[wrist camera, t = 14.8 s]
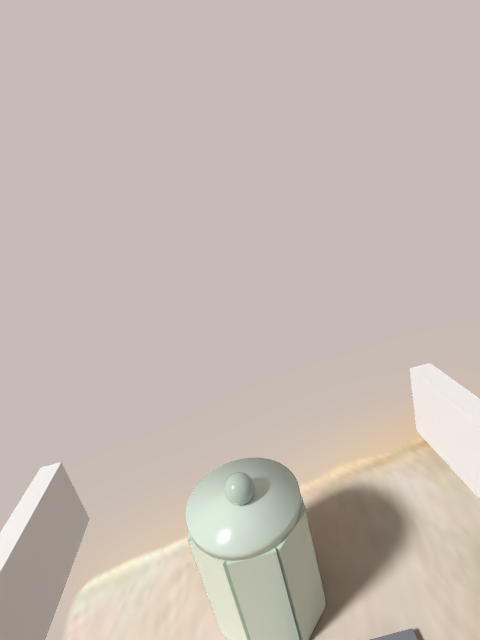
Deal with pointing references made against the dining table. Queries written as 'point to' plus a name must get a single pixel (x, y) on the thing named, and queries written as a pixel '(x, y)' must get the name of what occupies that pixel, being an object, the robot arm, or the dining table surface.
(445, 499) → the dining table surface
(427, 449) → the dining table surface
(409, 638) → the mat
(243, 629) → the lidded canister jar
